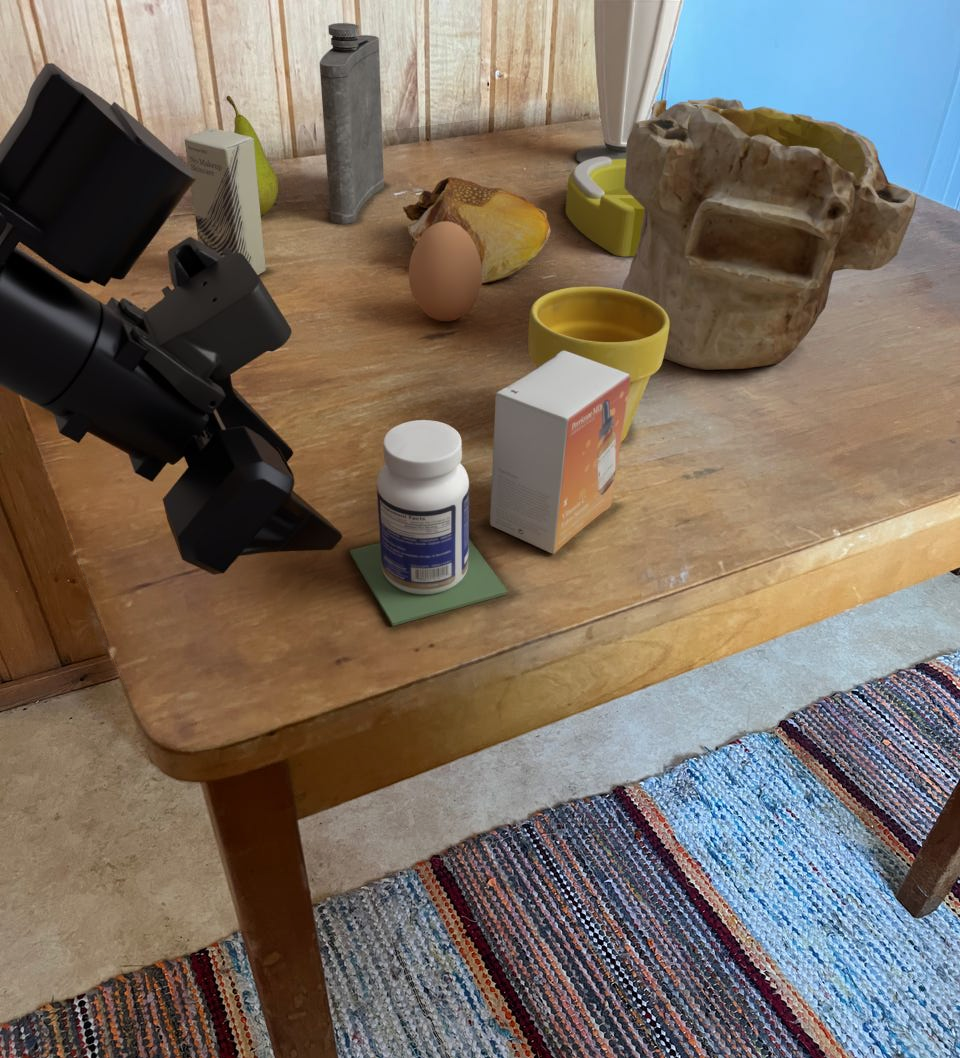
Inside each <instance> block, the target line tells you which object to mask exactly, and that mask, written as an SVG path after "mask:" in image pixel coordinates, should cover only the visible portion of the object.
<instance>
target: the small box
mask: <svg viewBox="0 0 960 1058" xmlns="http://www.w3.org/2000/svg"><path fill="white" fill-rule="evenodd" d="M630 378H631V376H630V374H627V373H625V372H622V371H620V370H617V369H614V368H611V367H609V366H606V365H603V364H600V363H598V362H595V361H592V360H589V359H587V358H584V357H581V356H578V355H575V354H573V353H570V352H567V351H561V352H560V353H558V354H557V355H556V356H555V357H554V358H552V359H551V360H549V361H548V362H546V363H544V364H543V365H541V366H540V367H538V368H537V367H536V368H535V369H534V370H532V371H530V372H529V373H527V374H526V375H524V376H523V377H521V378H519V379H518V380H516V381H515V382H513V383H511V384H510V385H508V386H506V387H504V388H502V389H500V390H499V391H496V393H495V402H494V403H495V404H494V406H495V407H494V425H493V426H494V428H493V447H492V469H491V490H490V515H489V525H490V527H493V528H495V529H497V530H499V531H502V532H504V533H506V534H508V535H510V536H512V537H514V538H517V539H520V540H521V541H524V542H525V543H528V544H530V545H532V546H534V547H536V548H539V549H541V550H543V551H546V552H548V553H550V554H553V555H554V554H556V553H557V552H558V551H559V550H560V549H561V548H562V547H563V546H564V545H565V544H566V543H568V542H569V541H570V540H571V539H573V537H575V536H576V535H578V533H580V532H581V531H582V530H583V529H584V528H586V527H587V526H588V525H589V524H591V522H593V521H594V520H595V519H596V518H597V517H598V516H599V517H600V515H602V513H604V512H605V511H607V510H608V509H609V508H610V507H611V506H612V503H613V497H614V490H615V489H614V488H615V484H616V477H617V472H618V471H617V470H618V466H619V465H618V464H619V457H620V451H621V443H622V442H621V437H622V431H623V425H624V419H625V411H626V404H627V398H628V392H629V384H630Z"/></svg>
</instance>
